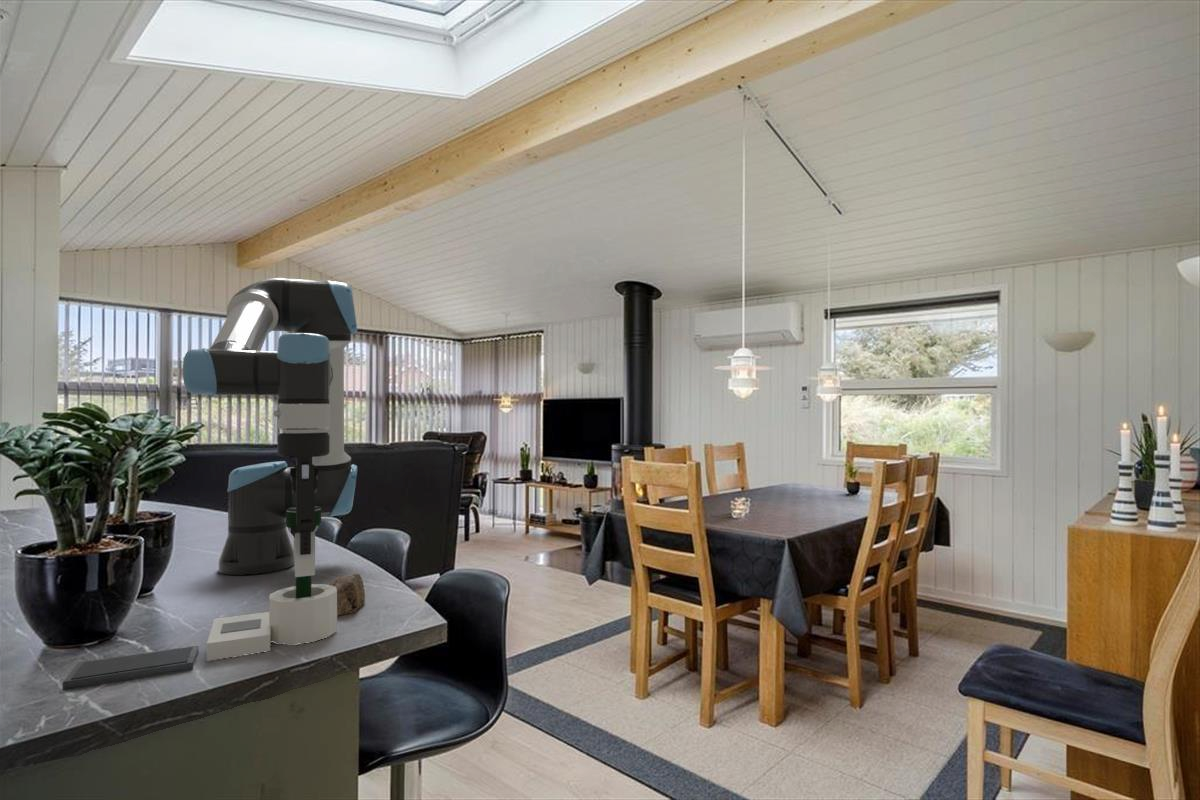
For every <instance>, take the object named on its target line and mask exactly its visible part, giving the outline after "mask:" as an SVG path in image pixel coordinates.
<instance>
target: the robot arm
mask: <svg viewBox="0 0 1200 800" xmlns="http://www.w3.org/2000/svg"><path fill="white" fill-rule="evenodd" d="M271 332H289V333H283V334H282V335H280V336H279V337H278V343H277V344H278V345H277V351H276V350H262V348H263V346H264V344H265V341H266V338H267V335H268V334H270V333H271ZM290 332H291V333H290ZM356 334H358V326H357V318H356V311H355V304H354V297H353V290H352V288H351V286H350V285H349V284H348V283H346V282H342V281H334V280H333V281H332V280H330V279H329V280H321V279H320V280H317V279H316V280H315V279H296V278H284V277H275V278H274V277H273V278H267V279H263V280H259V281H257V282H254V283H251V284H249V285H248V286H246V287H243V288H242V289H241V290H238V292H236V293H235V294H234V296H232V297H231V299H230V301H229V302H228V304H227V307H226V319H225V321H224V322H223V325H222V326H221V328H220V330H219V332H218V333H217V336H216V337H215V339H214V341H213V343H212V344H211V346H210V348H209V349H208V348H200V349H197V348H196V349H189V350H188V351H186V353H184V354H185V355H184V357H183V362H182V378H183V384H184V387H185V390H186V391H187V392H188V393H190V394H192V395H202V396H203V395H205V396H206V395H207V396H211V397H215V396H277V398H278V399H277V404H278V406H277V408H278V409H279V410H278V409H277V410H274V411H272V412H273V413H272V415H273V417H277V418H278V417H279V418H278V419H277V429H279V430H281V431H282V432H280V433H278V435H277V451H276V453H277V455H278V456H279V457H281V458H287V459H288V458H289V459H290V458H295V459H294V461H293V465H294V466H290V467H288V463H287V461H286V460H280V461H270V462H263V463H256V464H250V465H245V466H241V467H237V468H234V469H232V471H230V473H229V475H228V484H227V485H228V487H227V491H226V492H227V501H228V502H227V520H228V521H227V525H228V527H227V528H228V529H227V537H226V540H225V543H224V545H223V549H222V552H221V554H220V557H219V560H218V572H219V573H220V574H224V575H230V576H244V575H245V574H251V575H260V574H259V573H261V574H267V573H273V572H278V571H280V570H281V571H282V570H286V569H288V568H290V567H292V566H294V578H296V577H302V576H311V577H312V576H316V533H315V531H314V530H315V528H316V523H315V505H320V506H321V518H322V517H328V518H331V517H334V516H335V517H336V516H345V515H347V514H349V513H350V512H351V511H352V509H353V505H354V504H353V503H354V497H355V491H356V484H357V477H358V476H357V475H358V466H357V465H356V464H354V463H353V464H352V456H351V455H349V454H348V453H347V452H346V451H345V374H344V373H345V371H344V370H345V368H344V366H345V361H344V359H345V357H344V356H345V348H346V347H347V346H348V345H349V344H350V343H351V342H352V341H351V340H352V335H356ZM291 506H296V527H291V533H295V538H294V537H293V545H292V542H291V540H290V539H291V538H290V537H289V533H288V530H287V529H288V527H287V524H286V511H287V508H288V507H291ZM291 533H290V534H291ZM245 576H246V575H245Z"/></svg>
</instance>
